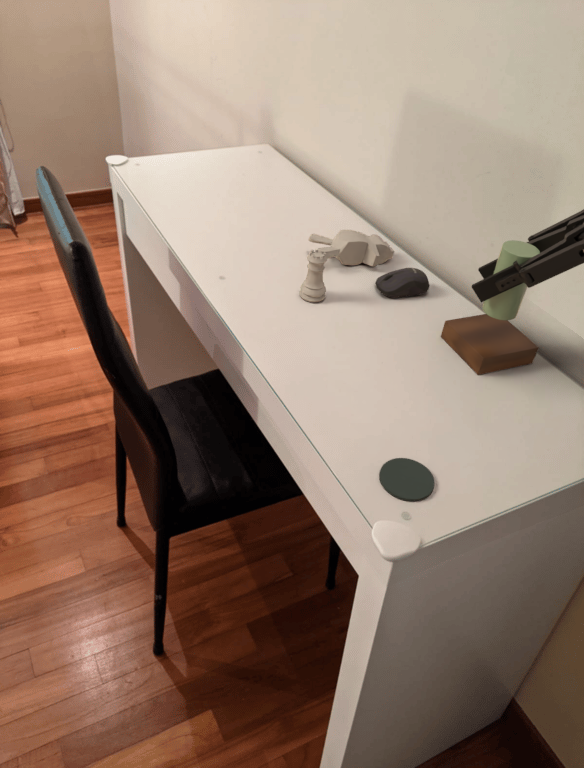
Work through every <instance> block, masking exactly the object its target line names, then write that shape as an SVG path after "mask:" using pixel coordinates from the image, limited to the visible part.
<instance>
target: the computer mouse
mask: <svg viewBox="0 0 584 768" xmlns="http://www.w3.org/2000/svg"><path fill="white" fill-rule="evenodd" d="M374 284H375V287H376V289H377V290H378V292H380V294H381V295H383V296H385V297H387V298H391V299H398V298H405V297H417V296H420V295H424V294H426V293H427V292H428V291H429V290H430V281H429V278H428V276H427V274H426V273H425V272H424V271H423V270H421V269H419V268H415V267H404V268H400V269H397V270H396V269H395V270H393V271H389V272H386V273H384V274H382V275H380V276H379V277H378V278H376V280H375V283H374Z"/></svg>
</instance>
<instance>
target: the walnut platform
mask: <svg viewBox="0 0 584 768" xmlns="http://www.w3.org/2000/svg"><path fill="white" fill-rule="evenodd" d="M440 338H441V339H442V340H443V341H444V342H445V343H446V344H447V345H448V346H449V347H450V348H451V349H452V350H453V351H454V352H455V353H456V354H457V355H458V356H459V357H460V358H461V359H462V360H463V361H464V362H465V363H466V365H467V366H468V367H469V368H471V369H472V371H473V372H474V373H475V374H476V375H477V376H479V375H480V376H481V375H484V374H485V375H486V374H489V373H495V372H499V371H503V370H508V369H513V368H517V367H522V366H528V365H531V364H534V361H535V358H536V356H537V354H538V351H539V349H540V348H539V346H538V345H536V343H534V342H533V341H532V339H530V338H529V337H527V336H526V335H525V334H524V333H523V332H522V331H521V330H519V329H518V328H517V327H516V326H515V325H513V324H512V322H511V321H510V320H499V319H495V318H492V317H490V316H489V315H487V314H486V313H483V314H477V315H471V316H465V317H464V316H463V317H458V318H454V319H448V320H445V321H444V324H443V327H442V331H441V334H440Z"/></svg>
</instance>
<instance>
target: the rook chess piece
mask: <svg viewBox="0 0 584 768" xmlns="http://www.w3.org/2000/svg"><path fill="white" fill-rule="evenodd" d="M325 255H326V254H325V253H324V251H322V250H321V251H320V252H318V248H316V249H311V250H310V251H309V253H308V255H307V256H306V260H307V262H308V264H307V273H306V277H305V279H304V280H303V282H302V284H301V285H300V287H299V289H300V290H299V297H300V298H301V299H302V300H303V301H305V302H307V303H314V304H315V303H316V304H317V303H319V302H322V301H323V300H325V299H326V297H327V294H326V293H327V288H326V285H325V282H324V270H325V268H326V267H325V264H326V262H327V261H328V259H327V258H326V256H325Z"/></svg>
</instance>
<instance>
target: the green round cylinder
mask: <svg viewBox="0 0 584 768" xmlns="http://www.w3.org/2000/svg"><path fill="white" fill-rule="evenodd" d="M526 242H527V241H521V240H507V241H504V242H503V243H502V245H501V248H500V252H499V255H498V257H497V259H498V260H497V263H496V266H495V269H494V272H493V274H495V273H497V272H499V271H501V270H504V269H506V268H508V267H510V266H512V265H513V263H514V262H515V261H516V260H517V262H518V264H519V265H520V264H522V263H524V262H525V261H527V260H529V259H531V258H532V257H534V256H536V255H538V254H539V253H540V251H539V249H538V248H536V247H535V246H533V245H531V244H529V243H526ZM527 289H528V287H527V285H526V284H525V283H522V284H520V285H518V286H516V287H514V288H512V289H509V290H507V291H505V292H503V293H501V294H498V295H496V296H494V297H492V298H490V299H488V300H485V301H483V302H482V307H481V309H482V311H483V313H484V314H487V315H489V316H490V317H492V318H495V319H499V320H508V321H512V320H514V319H516V318H517V317H518V314H519V311H520V308H521V306H522V303H523V300H524V297H525V295H526V292H527Z"/></svg>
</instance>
